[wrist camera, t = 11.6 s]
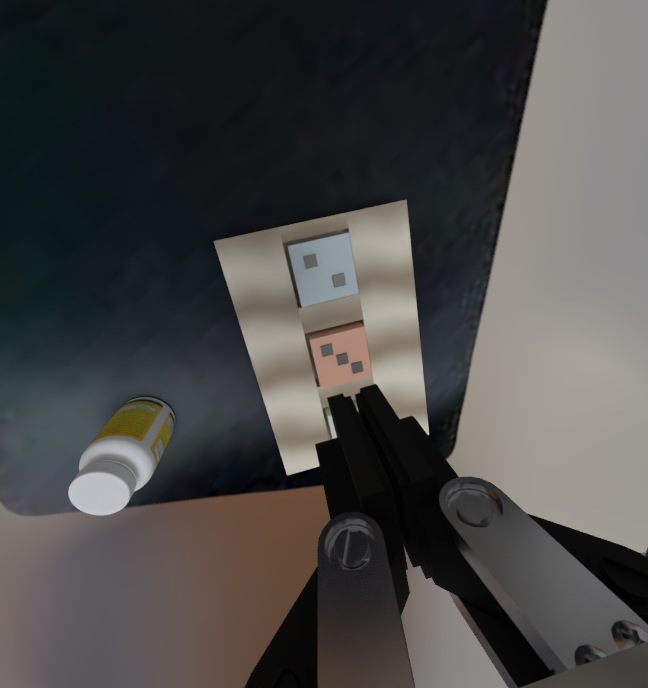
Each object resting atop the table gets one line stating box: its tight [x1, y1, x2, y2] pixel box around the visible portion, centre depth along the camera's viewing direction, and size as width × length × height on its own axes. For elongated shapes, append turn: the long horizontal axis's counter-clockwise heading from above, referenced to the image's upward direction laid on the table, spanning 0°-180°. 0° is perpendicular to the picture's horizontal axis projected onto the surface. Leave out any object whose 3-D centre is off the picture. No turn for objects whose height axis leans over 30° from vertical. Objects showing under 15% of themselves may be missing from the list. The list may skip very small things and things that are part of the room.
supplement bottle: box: [68, 397, 175, 515], centre depth 27 cm, size 5×5×10 cm
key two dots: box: [286, 233, 359, 307], centre depth 27 cm, size 5×5×3 cm
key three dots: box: [307, 321, 372, 389], centre depth 30 cm, size 5×5×3 cm
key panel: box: [214, 200, 429, 475], centre depth 31 cm, size 24×16×3 cm, turn 11°
